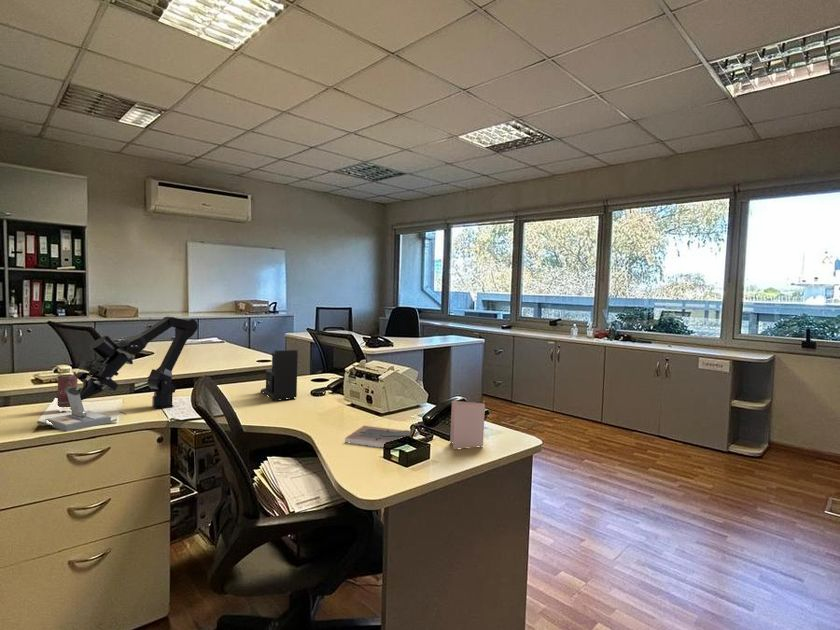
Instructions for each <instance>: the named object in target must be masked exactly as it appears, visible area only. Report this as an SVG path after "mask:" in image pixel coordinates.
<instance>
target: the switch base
mask: <svg viewBox="0 0 840 630" xmlns="http://www.w3.org/2000/svg"><path fill="white" fill-rule="evenodd" d="M84 412H85V413H86V417H84V418H81V417H77V416H74V415H72V413H71V414H67V415H61V416H56V417H50V418H45V421H46V420H48V421H49V422H51V423H52V424H53V426H52V427H51V428H54V429H57V430H61V431H63V432H71V431H75V430H76V431H77V430H81V429H85V428H90V427H96V426H99V425H104V424H105V425H106V424H109V423H111V422H112V417H111V416H110V415H106V414H101V413H98V412H95V411H90V410H89V411H84Z"/></svg>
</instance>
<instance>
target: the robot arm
mask: <svg viewBox="0 0 840 630" xmlns="http://www.w3.org/2000/svg"><path fill="white" fill-rule="evenodd" d="M171 328H174V334H175V335H174V338H173V340H172V342H171V343H170V346H169V348H168V350H167V351H166V353H165V355H164V358H163V359H162V362H161V363H160V365H159V367H158V368H156V369H154V368H152V369H151V371H150V373H149V375H148V376H147V385H148V387H149V388H150V389H151V392H153V395H152V397H151V399H152V404H151V406H152V407H153V408H154V409H156V410H158V409H167V408H166V407H168V408H172V407H171V406H174V405H173V396H174V395H173V394H174V393H176V390H177V387H176V386H175V385H174V384H173V383H172V379H173V370H174V367H175V365H176V364H177V361H178V359H179V357H180V356H181V353H182V351H183V349H184V347H185V345H186V343H187V341H188V340H189V339H191V338H192V337H193V336H194V335H195V333H196V332H197V330H198V328H199V324H198V322H197V321H196V320H195V319H191V318H177V317H174V316H165V317H163V318H162V319H161V320H159V321H158V322H155V324H152V325H151V326H150V327H148V328H147V329H145V330H143V331H142V332H141V333H138V334H135V335H132V336H130V337H127V338H125V339H122V340H121V341H120V342H118V343H117V342H116V343H115V342H114V341H113V340H112V339H111V338H110V337H109V335H102V337H100V338H98V339H96V340H94V341H92V343H91V344H90V345H89V349H90V350H91V351H93V352H94V353H95V354H96V355H97V356H98V357H100V358H101V359H105V361H104V362H100V361H98V360H94V361H92V362H91V361H86V360H81V362H80V364H79V366H78V367H77V369H78V370H80V371H78V372H77V373H76V374H75V377H76V378H78V380H79V381H80V382H82V384H83V386H82V388H81V389H80V393H79V394H80V397H81V401H82V402H83V400H86V399H88V398H90V397H92V396H95V395H96V394H99V393H103V392H104V391H105V388H106V387H107V388H109V389H108V391H109V392H114V393H115V391H116V390H118V388H119V384H118V383H117V382H116V381H115V380H113V377H114V376H118V375H119V373H118V372H119V371H120V369H122V368H123V367H124V366H125V365H126V364H127V365H133V364H134V361H133V357H131V356H127V355H132V356H136V355H138V354H140V353H141V352H142V351H143V350H145V348H146V347H147V345H148V344H149V343H150V342H151V341H154V339H156V338H157V337H159V336H160V335H161V334H162V335H163V333H165V332H166V331H168V330H169V329H171ZM81 370H82V371H81ZM174 407H175V406H174Z"/></svg>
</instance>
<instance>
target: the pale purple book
mask: <svg viewBox="0 0 840 630" xmlns="http://www.w3.org/2000/svg"><path fill="white" fill-rule="evenodd" d="M410 431H411V430H407V429H405V430H403V429H394V428H386V427H379V426H370V425H363V426H361V427H359V428H358V429H356V430H355V431H353V432H352V433H350V434H348V436H346V437H344V439H345V440H344V443H345V442H350V443H356V444H355V445H358V444H361V445H360V446H365V445H368V447H373V446H375V448H380V447H383V445H384V444H385V443H386V442H389V441H392V440H396V439H399V438H401V437H404V436H409V435H410ZM415 432H416V433H415V435H414V437H417V436H418V435H419V436H420V431H415ZM350 443H349V444H350Z"/></svg>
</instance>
